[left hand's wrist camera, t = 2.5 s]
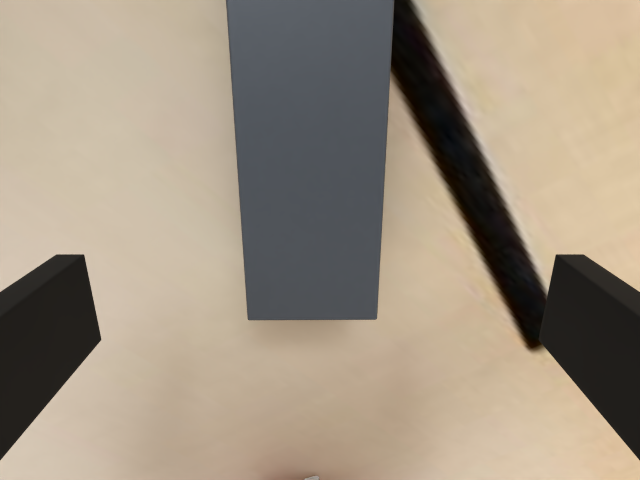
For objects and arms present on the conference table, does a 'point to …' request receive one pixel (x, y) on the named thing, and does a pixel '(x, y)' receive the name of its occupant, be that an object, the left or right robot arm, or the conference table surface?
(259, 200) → the bar
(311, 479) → the fish
